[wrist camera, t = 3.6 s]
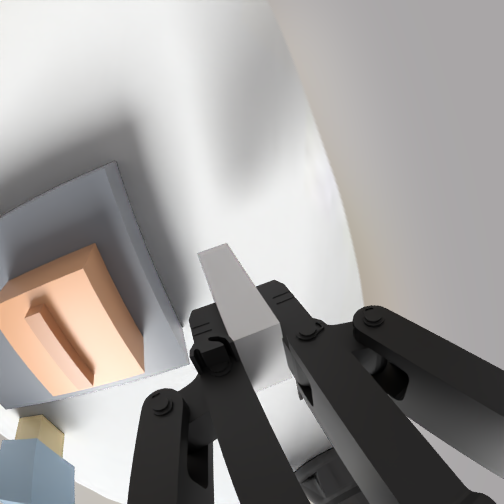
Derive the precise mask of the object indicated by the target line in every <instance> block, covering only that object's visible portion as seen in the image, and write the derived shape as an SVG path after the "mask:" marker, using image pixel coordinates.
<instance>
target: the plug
mask: <svg viewBox="0 0 504 504" xmlns="http://www.w3.org/2000/svg"><path fill="white" fill-rule="evenodd" d="M63 444H64V434H63V433H62V432H61V431H60V430H58V429H57V428H56V427H55V426H54V425H53V424H52V423H51V422H50V421H49V420H47V419H46V418H45V417H44V416H43V415H36V416H29V417H22V418H20V419H19V423H18V427H17V432H16V437H15V440H2V445H1V450H0V502H1V503H3V504H75V498H74V466H73V465H71V464H70V463H68V462H67V461H66V460H64V459H63V458H62V457H63Z"/></svg>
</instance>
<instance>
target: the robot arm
mask: <svg viewBox="0 0 504 504" xmlns="http://www.w3.org/2000/svg"><path fill="white" fill-rule="evenodd" d="M197 254H198V257H199V260H200V263H201V265H202V268H203V271H204V274H205V277H206V280H207V283H208V285H209V288H210V291H211V294H212V296H213V299H214V302H215V303H213V304H210V305H207V306H204V307H201V308H199V309H196V310H193V311H192V312H191V315H190V318H189V323H190V327H191V331H192V336H193V340H194V344H193V346H192V348H191V350H190V359H191V361H192V363H193V364H194V366H195V368H196V370H197V372H198V375H197V376H196V378H195V379H194V380H193V381H192V382H191V383H190V384H189V385H187V386H186V387H184V388H183V389H181V390H180V391H175V390H173V389H168V388H164V389H160V390H157V391H155V392H153V393H152V394H150V395H149V396H148V397H147V398H146V399H145V401H144V403H143V406H142V410H141V415H140V421H139V426H138V432H137V438H136V444H135V450H134V456H133V463H132V470H131V477H130V485H129V493H128V502H127V504H214V480H213V441H214V440H216V439H217V438H218V441H219V444H220V448H221V451H222V454H223V457H224V460H225V463H226V466H227V468H228V471H229V474H230V477H231V480H232V483H233V485H234V488H235V491H236V493H237V496H238V499H239V501H240V504H310V502H309V500H310V501H312V502H313V503H314V504H496V503H495V502H494V501H493V500H492V499H491V498H490V497H488V496H486V495H485V494H483V493H477V492H472V491H471V490H469V489H468V488H467V487H466V486H465V485H464V484H463V483H462V482H461V481H460V479H459V478H458V477H457V476H456V475H455V473H454V472H453V471H452V470H451V469H450V468H449V466H448V465H447V464H446V463H445V462H444V461H443V459H442V458H441V457H440V456H439V454H437V452H436V451H435V450H434V449H433V447H432V446H431V445H430V444H429V443H428V442H427V440H426V439H425V438H424V437H423V435H421V433H420V432H419V431H418V430H417V428H416V427H415V426H414V425H413V424H412V423H411V421H410V420H409V419H408V418H407V417H409V418H410V419H412V420H413V421H414V422H416V423H418V424H419V425H420V426H422V427H423V428H425V429H426V430H428V431H429V432H430V433H432V434H434V435H435V436H437V437H438V438H440V439H441V440H443V441H444V442H446V443H447V444H449V445H450V446H452V447H453V448H455V449H456V450H458V451H459V452H461V453H462V454H464V455H466V456H467V457H469V458H470V459H472V460H473V461H475V462H477V463H478V464H480V465H481V466H483V467H485V468H486V469H488V470H490V471H491V472H493V473H495V474H496V475H498V476H500V477H501V478H503V479H504V371H503V370H501V369H500V368H498V367H496V366H494V365H492V364H490V363H489V362H487V361H485V360H483V359H481V358H479V357H477V356H476V355H474V354H472V353H469V352H468V351H466V350H464V349H462V348H460V347H459V346H457V345H455V344H453V343H451V342H449V341H447V340H445V339H444V338H442V337H440V336H438V335H436V334H434V333H432V332H430V331H428V330H427V329H425V328H423V327H421V326H419V325H417V324H415V323H413V322H411V321H409V320H407V319H405V318H403V317H402V316H400V315H398V314H396V313H394V312H392V311H390V310H388V309H386V308H384V307H381V306H372V305H371V306H367V307H363V308H361V309H359V310H358V311H357V312H356V313H355V314H354V317H353V322H348V323H343V324H337V325H327V324H326V323H324V322H323V321H322V320H318V319H315V318H312V317H311V316H310V314H309V313H308V312H307V311H306V310H305V309H304V307H303V306H302V305H301V304H300V303H299V301H298V300H297V299H296V298H295V297H294V295H293V294H292V293H291V292H290V291H289V290H288V288H287V287H286V286H285V285H284V284H283V283H280V282H278V281H276V280H272V281H270V282H267V283H264V284H262V285H259V286H256V287H255V285H254V284H253V282H252V280H251V279H250V277H249V276H248V274H247V273H246V271H245V270H244V268H243V267H242V265H241V264H240V262H239V261H238V259H237V258H236V256H235V255H234V253H233V252H232V250H231V249H230V247H229V246H228V244H227V243H225V244H223V245H220V246H217V247H214V248H211V249H208V250H205V251H202V252H200V253H197ZM290 371H291V372H292V374H293V376H294V377H295V379H296V384H297V389H298V394H299V398H300V400H302V399H303V398H304V400H305V401H306V403H307V405H308V406H309V408H310V410H311V411H312V413H313V415H314V416H315V418H316V420H317V421H318V423H319V424H320V426H321V428H322V429H323V431H324V433H325V434H326V436H327V437H328V439H329V441H330V442H331V444H332V445H333V447H334V448H333V449H331V450H329V451H327V452H325V453H323V454H321V455H319V456H317V457H316V458H314V459H312V460H311V461H309V462H308V463H306V464H305V465H303V466H302V467H301V468H300V469H298V470H297V471H296V472H295V473H294V472H293V470H292V468H291V466H290V464H289V462H288V460H287V458H286V456H285V454H284V452H283V450H282V448H281V446H280V444H279V442H278V440H277V438H276V436H275V434H274V431H273V429H272V427H271V425H270V423H269V421H268V419H267V417H266V415H265V412H264V410H263V408H262V406H261V404H260V402H259V400H258V397H257V395H256V392H258V391H261V390H263V389H266V388H268V387H271V386H273V385H276V384H278V383H281V382H283V381H285V380H288V379H290V378H292V377H291V372H290ZM405 415H406V416H407V417H406V416H405ZM308 499H309V500H308Z"/></svg>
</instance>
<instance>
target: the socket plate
mask: <svg viewBox="0 0 504 504" xmlns="http://www.w3.org/2000/svg"><path fill="white" fill-rule="evenodd" d="M94 243H96V246H97V248H98V250H99V252H100V255H101V257H102V259H103V261H104V263H105V265H106V268H107V270H108V272H109V274H110V276H111V278H112V280H113V282H114V284H115V286H116V288H117V290H118V292H119V294H120V296H121V298H122V300H123V302H124V304H125V305H126V307H127V309H128V311H129V313H130V315H131V317H132V318H133V320H134V322H135V324H136V325H137V327H138V329H139V331H140V332H141V334H142V336H143V338H144V368H145V373H143V374H139V375H136V376H132V377H129V378H125V379H122V380H118V381H115V382H111V383H107V384H103V385H100V386H96V387H92V388H88V389H84V390H80V391H75V392H71V393H67V394H62V395H58V396H53V395H52V394H51V393H50V392H49V391H48V390H47V389H46V388H45V387H44V386H43V384H42V383H41V382H40V381H39V380H38V379H37V377H36V376H35V375H34V374H33V373H32V371H31V370H30V369H29V368H28V367H27V365H26V364H25V363H24V362H23V360H22V359H21V358H20V356H19V355H18V354H17V352H16V351H15V350H14V348H13V347H12V346H11V344H10V343H9V341H8V340H7V339H6V337H5V336H4V334H3V333H2V331H1V330H0V404H1V405H2V406H3V407H4V408H5V409H12V408H18V407H24V406H30V405H36V404H41V403H46V402H51V401H56V400H61V399H66V398H70V397H75V396H79V395H84V394H88V393H92V392H96V391H100V390H104V389H108V388H112V387H115V386H119V385H123V384H127V383H130V382H134V381H137V380H141V379H144V378H147V377H151V376H154V375H157V374H161V373H164V372H167V371H170V370H173V369H177V368H180V367H183V366H186V365H189V364H190V362H189V358H188V353H187V349H186V344H185V339H184V334H183V329H182V326H181V324H180V322H179V320H178V318H177V316H176V314H175V312H174V310H173V307H172V305H171V303H170V301H169V299H168V296H167V294H166V292H165V290H164V288H163V285H162V283H161V281H160V278H159V276H158V274H157V271H156V269H155V267H154V264H153V262H152V259H151V257H150V254H149V252H148V250H147V247H146V245H145V242H144V239H143V237H142V234H141V232H140V229H139V226H138V224H137V221H136V218H135V216H134V213H133V210H132V207H131V205H130V202H129V199H128V196H127V193H126V190H125V187H124V184H123V181H122V178H121V175H120V172H119V169H118V166H117V163H116V161H114V162H111V163H109V164H106V165H104V166H102V167H99V168H97V169H94V170H92V171H90V172H87V173H85V174H83V175H81V176H78V177H76V178H74V179H72V180H70V181H67V182H65V183H63V184H61V185H59V186H57V187H55V188H53V189H51V190H49V191H47V192H45V193H43V194H41V195H39V196H37V197H35V198H33V199H31V200H29V201H28V202H26V203H24V204H22V205H20V206H18V207H17V208H15V209H13V210H11V211H10V212H8V213H6V214H4V215H3V216H1V217H0V291H1V290H2V288H3V287H4V286H5V284H6V283H7V282H8V281H9V280H11V279H14V278H16V277H18V276H20V275H22V274H24V273H26V272H29V271H31V270H33V269H35V268H37V267H40V266H42V265H44V264H46V263H49V262H51V261H53V260H55V259H58V258H60V257H62V256H65V255H67V254H69V253H72V252H74V251H76V250H79V249H81V248H84V247H86V246H89V245H91V244H94Z"/></svg>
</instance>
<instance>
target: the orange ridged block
mask: <svg viewBox="0 0 504 504" xmlns="http://www.w3.org/2000/svg"><path fill="white" fill-rule="evenodd" d="M0 330H1V331H2V333H3V334H4V336H5V337H6V339H7V340H8V341H9V343H10V344H11V346H12V347H13V348H14V350H15V351H16V352H17V354H18V355H19V356H20V358H21V359H22V360H23V362H24V363H25V364H26V365H27V367H28V368H29V369H30V370H31V371H32V373H33V374H34V375H35V376H36V377H37V379H38V380H39V381H40V382H41V383H42V384H43V386H44V387H45V388H46V389H47V390H48V391H49V392H50V393H51V394H52V395H53V396H58V395H62V394H67V393H71V392H75V391H80V390H84V389H88V388H92V387H96V386H100V385H103V384H107V383H111V382H115V381H118V380H122V379H125V378H129V377H132V376H136V375H139V374H143V373H145V368H144V338H143V336H142V334H141V332H140V331H139V329H138V327H137V325H136V324H135V322H134V320H133V318H132V317H131V315H130V313H129V311H128V309H127V307H126V305H125V304H124V302H123V300H122V298H121V296H120V294H119V292H118V290H117V288H116V286H115V284H114V282H113V280H112V278H111V276H110V274H109V272H108V270H107V268H106V265H105V263H104V261H103V259H102V257H101V255H100V252H99V250H98V248H97V246H96V243H94V244H91V245H89V246H86V247H84V248H81V249H79V250H76V251H74V252H72V253H69V254H67V255H65V256H62V257H60V258H58V259H55V260H53V261H51V262H49V263H46V264H44V265H42V266H40V267H37V268H35V269H33V270H31V271H29V272H26V273H24V274H22V275H20V276H18V277H16V278H14V279H11V280H9V281H8V282H7V283H6V284H5V286H4V287H3V288H2V290H1V291H0Z"/></svg>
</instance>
